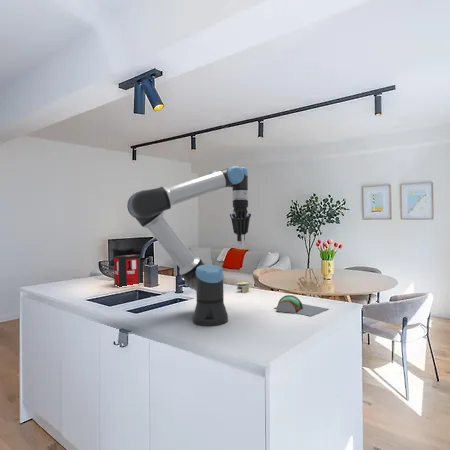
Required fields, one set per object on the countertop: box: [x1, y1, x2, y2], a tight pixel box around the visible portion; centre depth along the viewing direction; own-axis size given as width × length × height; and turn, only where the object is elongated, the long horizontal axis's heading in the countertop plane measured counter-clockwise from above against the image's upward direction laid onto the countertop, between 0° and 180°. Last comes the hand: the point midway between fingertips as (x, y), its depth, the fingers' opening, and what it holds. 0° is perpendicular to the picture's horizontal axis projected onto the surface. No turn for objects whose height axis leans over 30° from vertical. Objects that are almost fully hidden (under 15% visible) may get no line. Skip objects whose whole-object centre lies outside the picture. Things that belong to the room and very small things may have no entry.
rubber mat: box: [273, 303, 330, 317], centre depth 168 cm, size 16×20×1 cm
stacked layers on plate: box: [236, 281, 250, 294], centre depth 210 cm, size 10×9×6 cm
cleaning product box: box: [113, 253, 144, 287], centre depth 236 cm, size 16×9×20 cm, turn 130°
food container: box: [275, 294, 303, 314], centre depth 166 cm, size 12×6×10 cm
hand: (241, 247), depth 172 cm, fingers closed
